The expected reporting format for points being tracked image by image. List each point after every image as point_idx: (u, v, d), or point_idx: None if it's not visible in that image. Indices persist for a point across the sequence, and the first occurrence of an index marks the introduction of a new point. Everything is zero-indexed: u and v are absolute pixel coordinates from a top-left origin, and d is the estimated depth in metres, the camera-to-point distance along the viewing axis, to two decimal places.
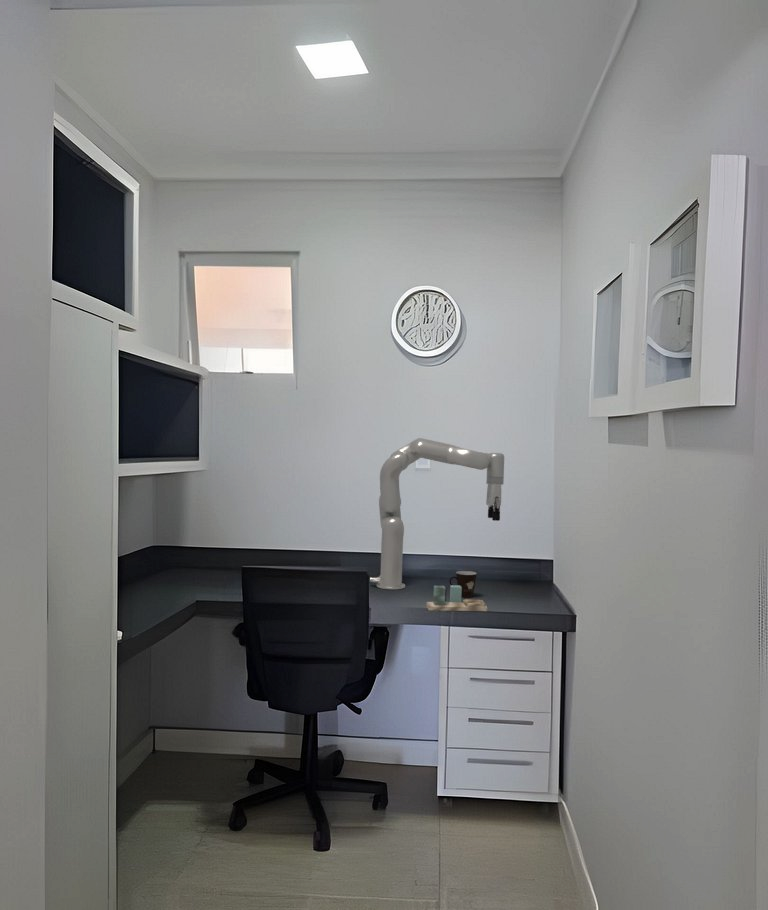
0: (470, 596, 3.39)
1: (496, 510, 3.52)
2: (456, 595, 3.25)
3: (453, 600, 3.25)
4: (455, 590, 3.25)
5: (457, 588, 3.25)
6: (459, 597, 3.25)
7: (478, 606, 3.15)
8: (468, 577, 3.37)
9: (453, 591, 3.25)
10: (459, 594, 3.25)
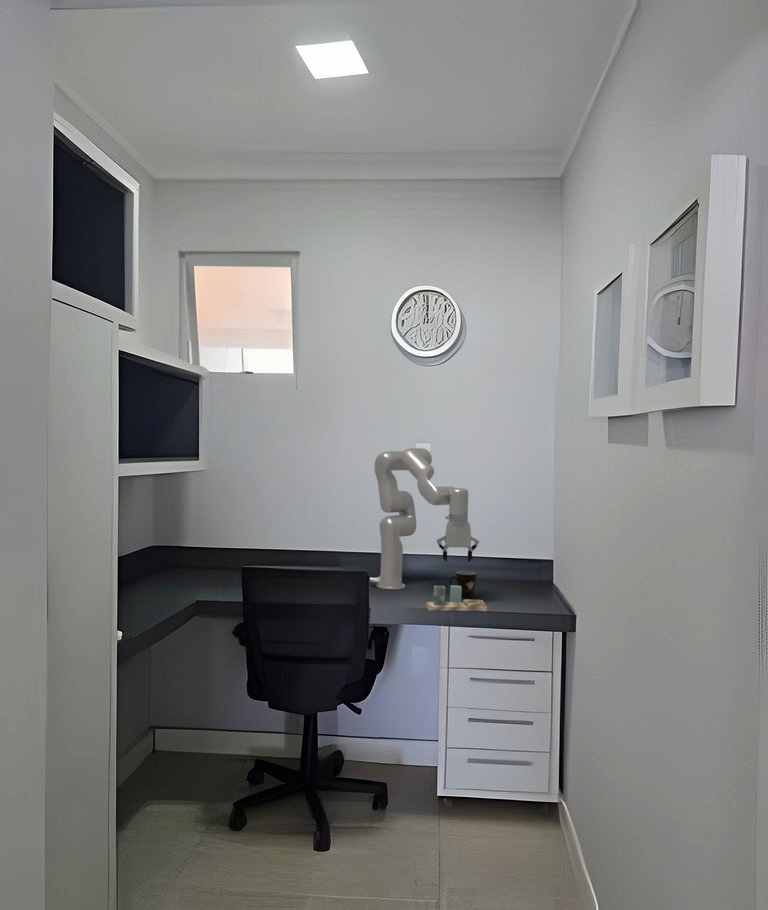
0: (470, 596, 3.39)
1: None
2: (456, 595, 3.25)
3: (453, 600, 3.25)
4: (455, 590, 3.25)
5: (457, 588, 3.25)
6: (459, 597, 3.25)
7: (478, 606, 3.15)
8: (468, 577, 3.37)
9: (453, 591, 3.25)
10: (459, 594, 3.25)
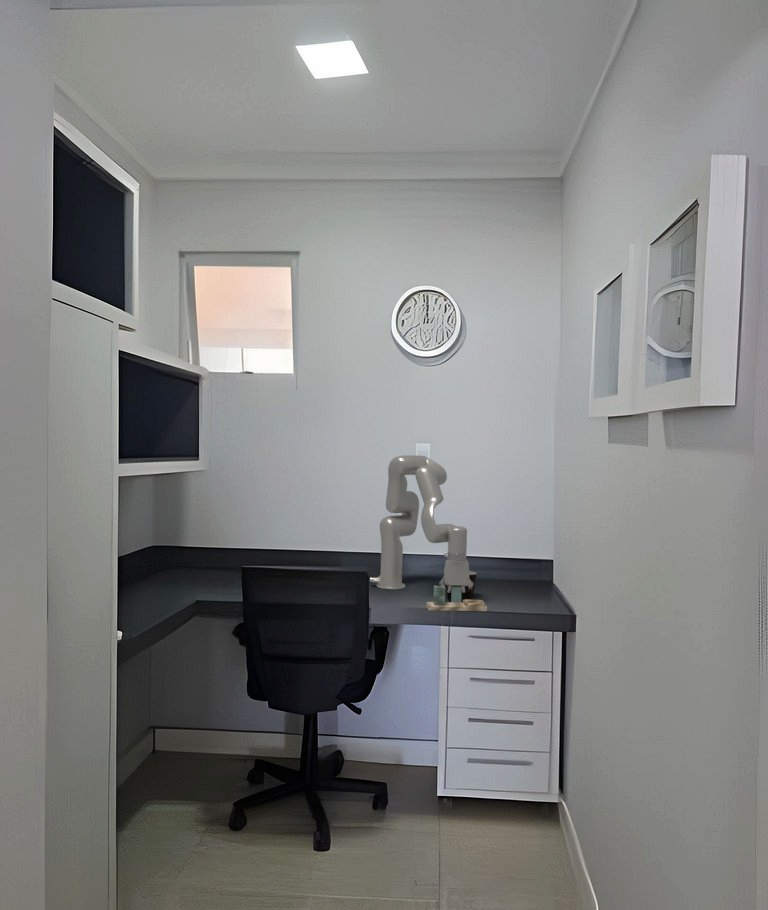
0: (470, 596, 3.39)
1: None
2: (456, 595, 3.25)
3: (453, 600, 3.25)
4: (455, 590, 3.25)
5: (457, 588, 3.25)
6: (459, 597, 3.25)
7: (478, 606, 3.15)
8: None
9: (453, 591, 3.25)
10: (459, 594, 3.25)
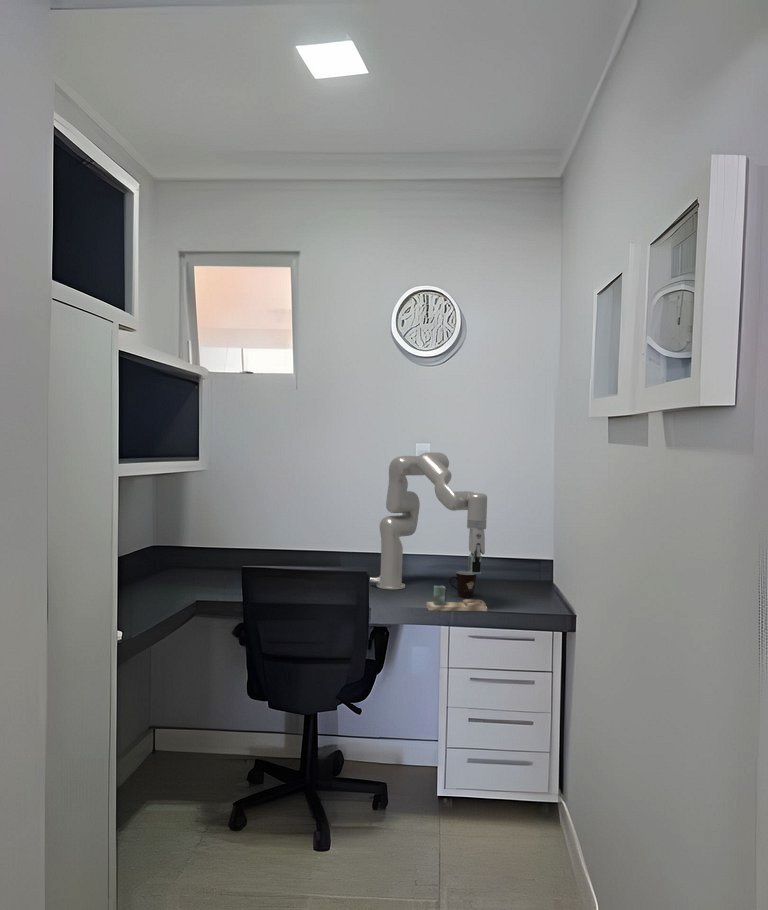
0: (470, 596, 3.39)
1: None
2: None
3: None
4: None
5: None
6: None
7: (478, 606, 3.15)
8: (468, 577, 3.37)
9: None
10: None
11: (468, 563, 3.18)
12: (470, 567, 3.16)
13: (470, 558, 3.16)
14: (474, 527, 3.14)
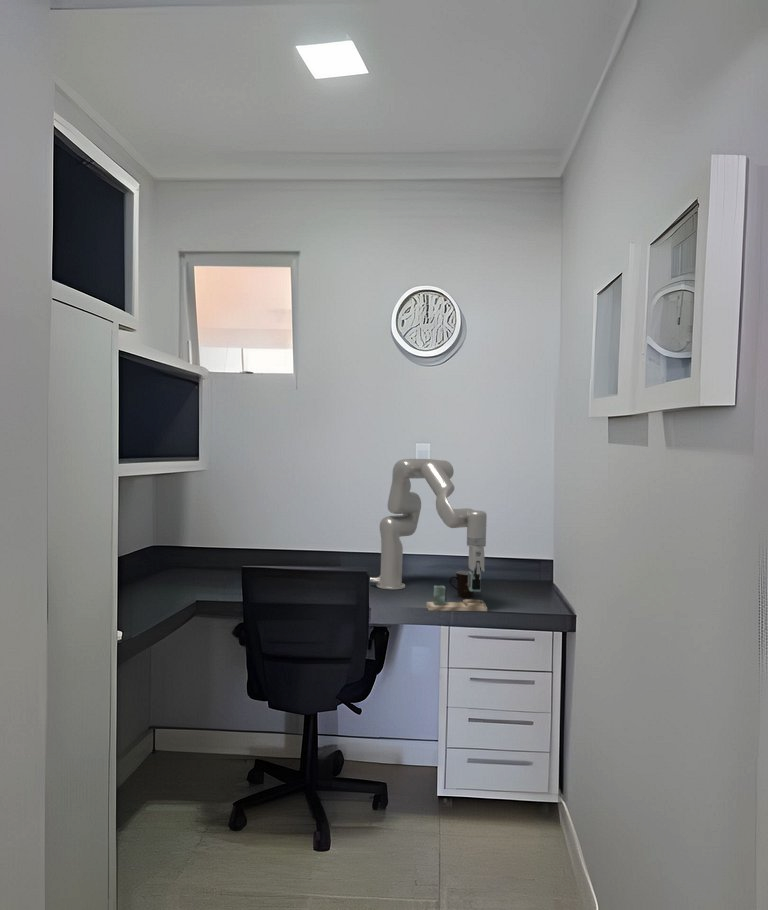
0: (470, 596, 3.39)
1: None
2: None
3: None
4: None
5: None
6: None
7: (478, 606, 3.15)
8: None
9: (480, 577, 3.17)
10: None
11: (468, 580, 3.18)
12: (470, 584, 3.16)
13: (470, 575, 3.16)
14: (474, 545, 3.14)
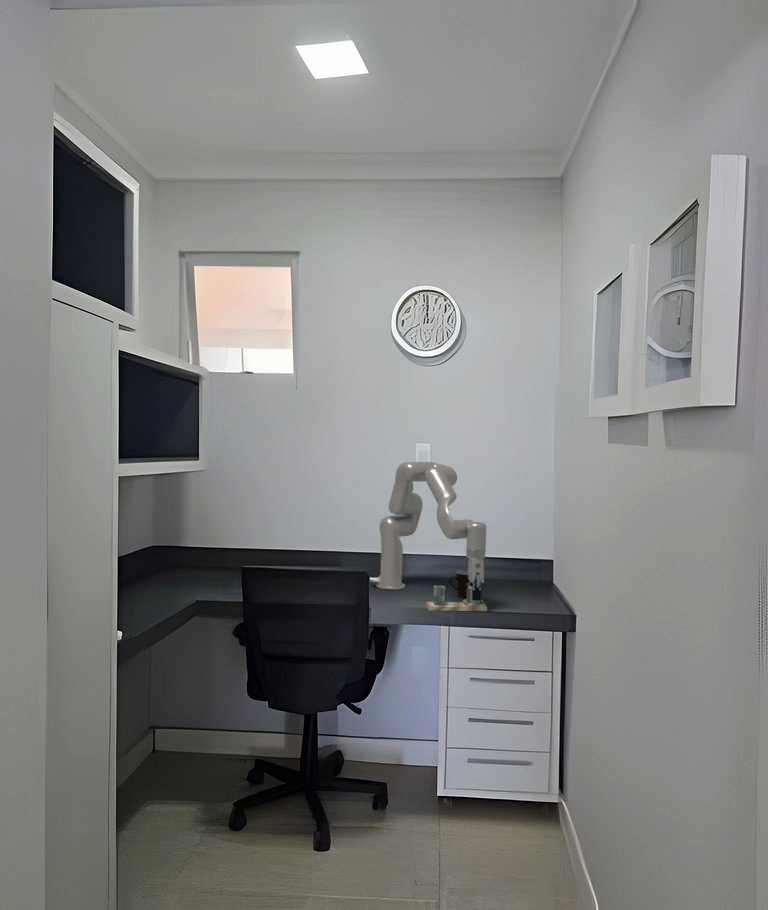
0: None
1: None
2: None
3: None
4: None
5: None
6: None
7: (478, 606, 3.15)
8: None
9: None
10: None
11: (467, 595, 3.18)
12: (469, 599, 3.17)
13: (469, 590, 3.17)
14: (473, 556, 3.14)
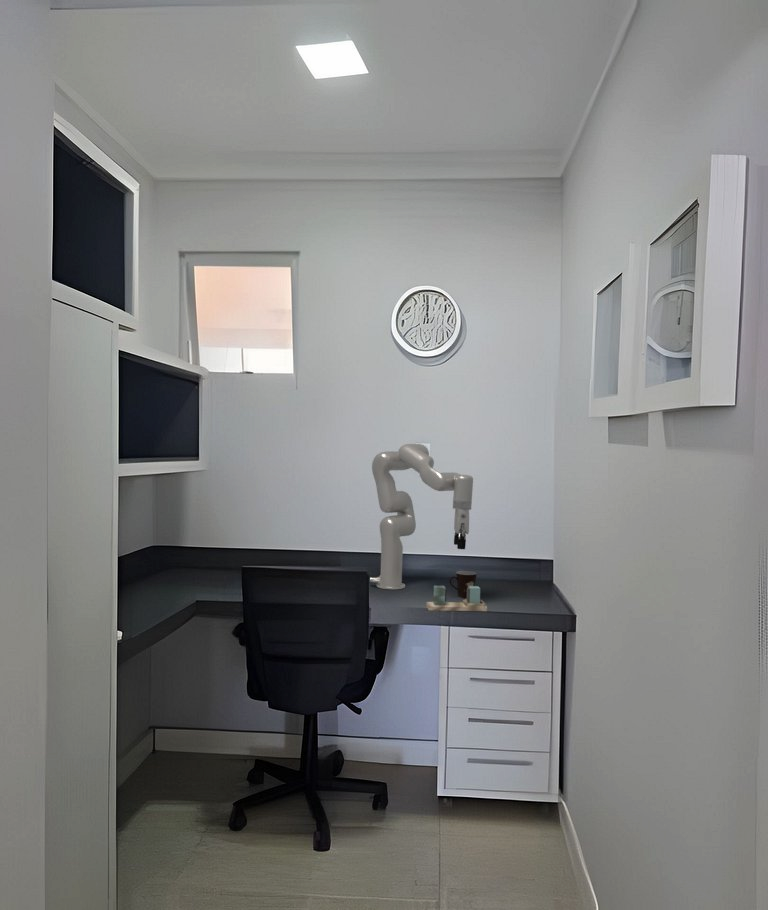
0: None
1: None
2: None
3: None
4: None
5: None
6: None
7: (478, 606, 3.15)
8: (468, 577, 3.37)
9: (479, 592, 3.17)
10: None
11: (467, 595, 3.18)
12: (469, 599, 3.17)
13: (469, 590, 3.17)
14: (459, 507, 3.24)
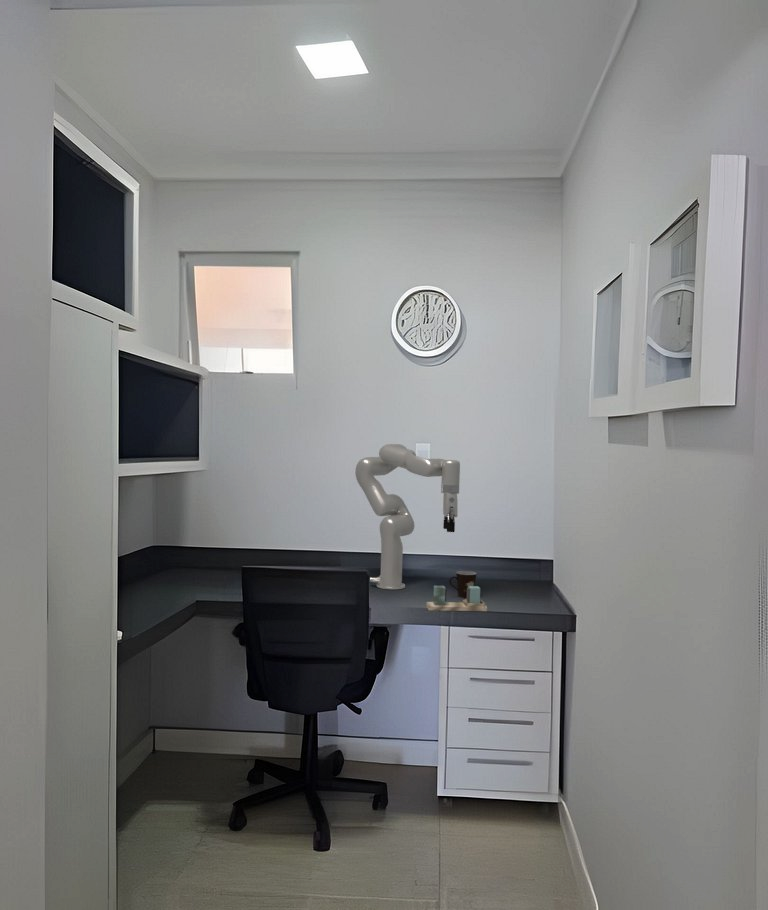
0: None
1: None
2: None
3: None
4: None
5: None
6: None
7: (478, 606, 3.15)
8: (468, 577, 3.37)
9: (479, 592, 3.17)
10: None
11: (467, 595, 3.18)
12: (469, 599, 3.17)
13: (469, 590, 3.17)
14: (447, 491, 3.33)
